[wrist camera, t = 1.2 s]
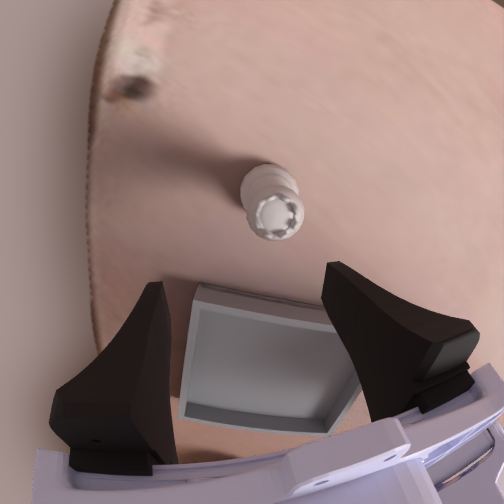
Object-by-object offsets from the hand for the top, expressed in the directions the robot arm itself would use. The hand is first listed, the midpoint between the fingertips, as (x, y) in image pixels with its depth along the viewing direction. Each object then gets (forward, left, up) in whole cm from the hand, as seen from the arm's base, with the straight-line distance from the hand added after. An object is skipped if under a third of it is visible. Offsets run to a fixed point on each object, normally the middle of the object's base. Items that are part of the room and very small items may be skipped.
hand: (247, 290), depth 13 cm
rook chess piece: (-1, -2, -12) cm, 13 cm away
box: (-6, +15, -12) cm, 20 cm away
